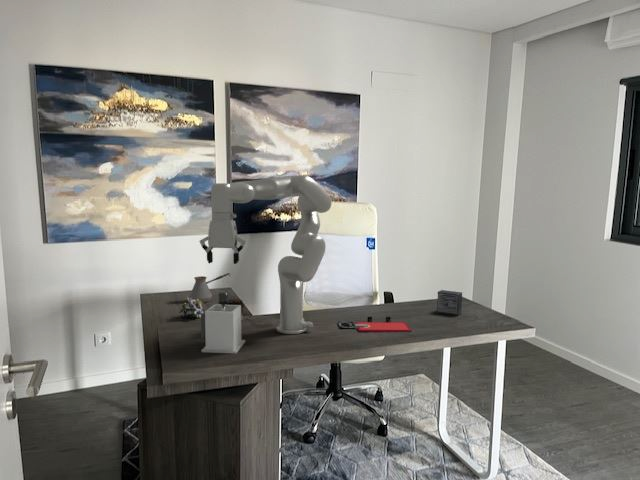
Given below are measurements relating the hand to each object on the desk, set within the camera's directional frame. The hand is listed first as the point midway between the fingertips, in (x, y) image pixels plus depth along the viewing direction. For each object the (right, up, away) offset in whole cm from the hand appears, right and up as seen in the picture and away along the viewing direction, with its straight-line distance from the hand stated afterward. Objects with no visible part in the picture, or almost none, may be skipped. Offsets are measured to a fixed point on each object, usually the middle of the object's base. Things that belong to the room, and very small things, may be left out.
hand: (223, 263), depth 174 cm
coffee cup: (0, -30, +24) cm, 38 cm away
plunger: (0, -31, +4) cm, 31 cm away
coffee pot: (-22, -24, +74) cm, 81 cm away
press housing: (0, -32, +4) cm, 32 cm away
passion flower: (-24, -28, +43) cm, 56 cm away
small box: (+99, -27, +55) cm, 117 cm away
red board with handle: (+59, -30, +31) cm, 73 cm away
